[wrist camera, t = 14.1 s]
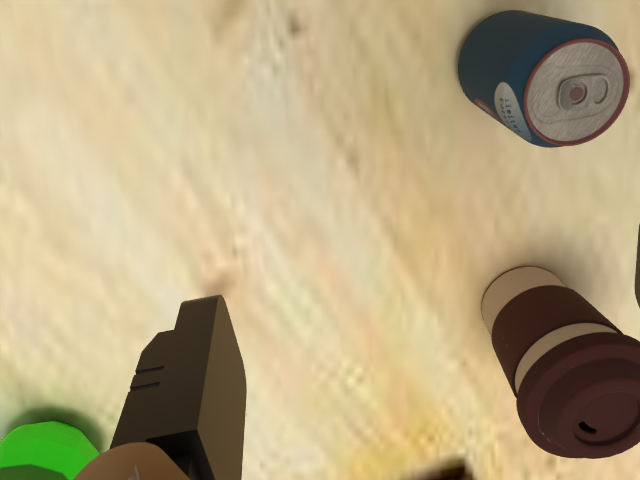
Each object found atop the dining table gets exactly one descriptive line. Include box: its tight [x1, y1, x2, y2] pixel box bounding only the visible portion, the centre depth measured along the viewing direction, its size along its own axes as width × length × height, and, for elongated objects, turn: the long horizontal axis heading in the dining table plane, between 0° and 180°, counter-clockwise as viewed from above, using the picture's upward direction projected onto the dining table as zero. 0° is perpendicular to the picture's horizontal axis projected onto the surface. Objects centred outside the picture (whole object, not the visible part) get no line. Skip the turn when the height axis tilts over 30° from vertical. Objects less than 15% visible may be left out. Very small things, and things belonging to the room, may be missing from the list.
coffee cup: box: [482, 267, 640, 459], centre depth 45 cm, size 10×10×15 cm
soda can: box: [458, 11, 630, 147], centre depth 37 cm, size 7×7×12 cm
